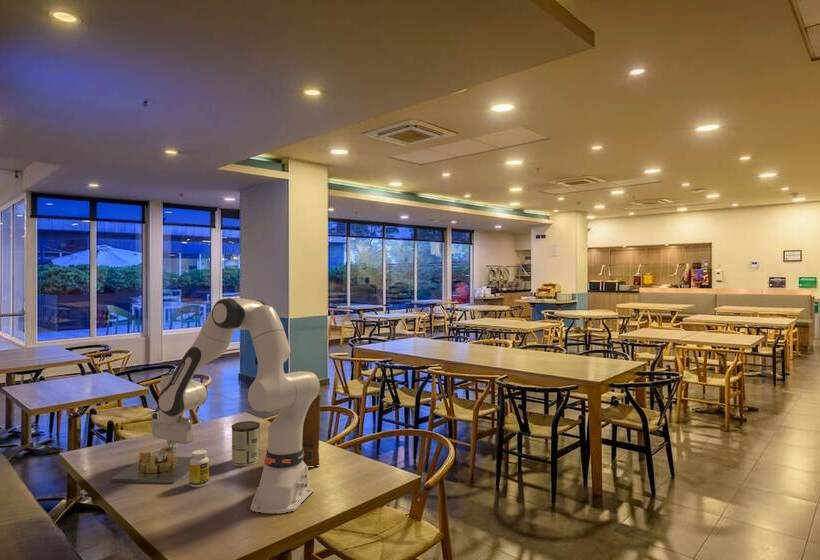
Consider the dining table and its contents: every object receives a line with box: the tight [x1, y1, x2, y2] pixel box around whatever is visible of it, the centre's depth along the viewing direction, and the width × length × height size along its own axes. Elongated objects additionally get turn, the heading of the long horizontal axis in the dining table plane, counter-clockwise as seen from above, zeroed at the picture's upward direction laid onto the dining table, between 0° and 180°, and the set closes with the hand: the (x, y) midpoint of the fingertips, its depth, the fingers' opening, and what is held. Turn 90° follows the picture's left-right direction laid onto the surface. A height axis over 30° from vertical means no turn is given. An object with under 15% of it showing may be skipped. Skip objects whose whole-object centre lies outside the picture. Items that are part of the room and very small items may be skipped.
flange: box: [110, 450, 193, 485], centre depth 185 cm, size 22×22×6 cm
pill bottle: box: [188, 449, 210, 488], centre depth 173 cm, size 6×6×11 cm
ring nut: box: [140, 445, 178, 473], centre depth 186 cm, size 14×12×5 cm
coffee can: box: [231, 420, 261, 467], centre depth 195 cm, size 10×10×14 cm
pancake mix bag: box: [302, 393, 322, 466], centre depth 193 cm, size 7×19×28 cm, turn 57°
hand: (172, 451), depth 192 cm, fingers closed
